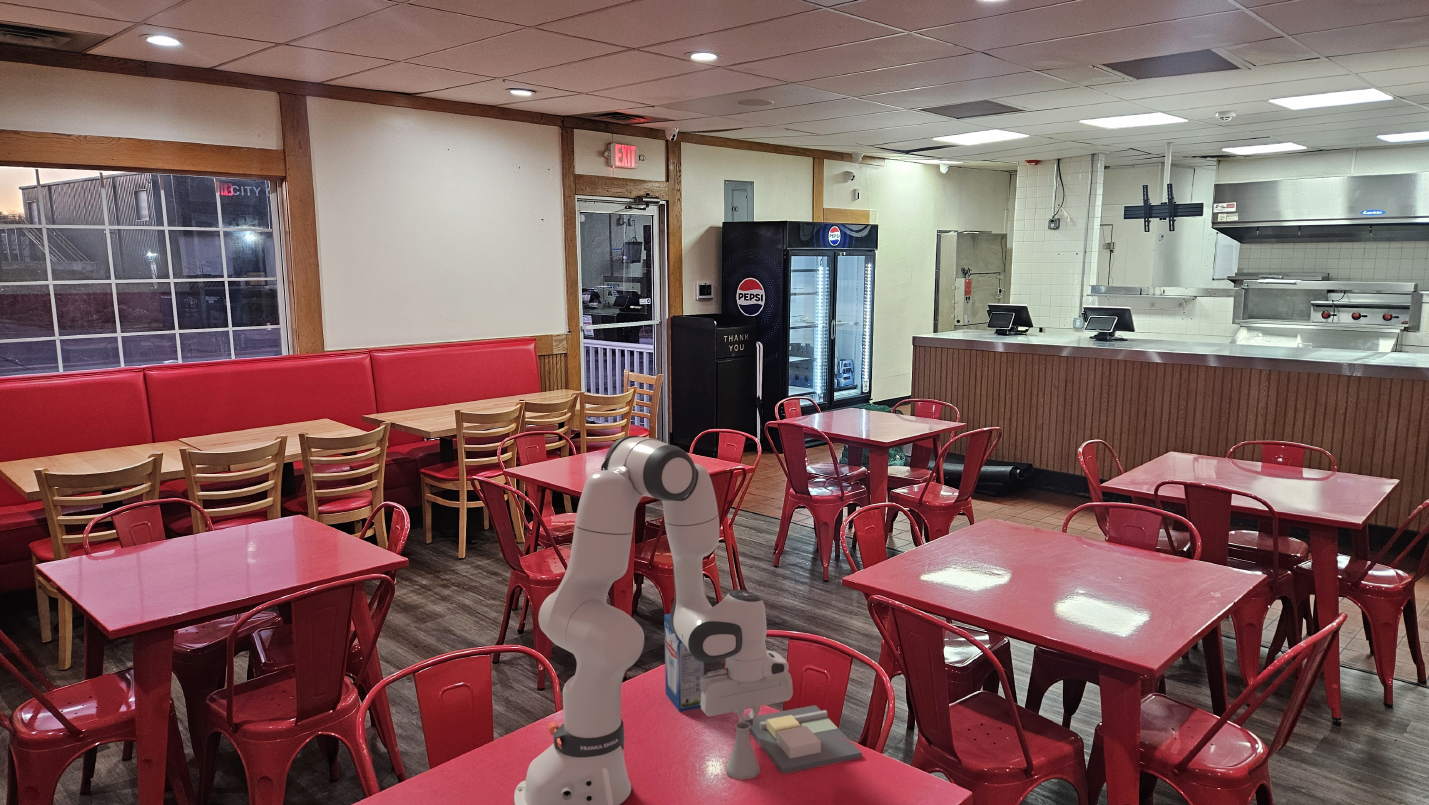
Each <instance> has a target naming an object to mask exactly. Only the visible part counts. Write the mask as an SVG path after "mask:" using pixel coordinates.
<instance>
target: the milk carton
mask: <svg viewBox="0 0 1429 805" xmlns="http://www.w3.org/2000/svg"><path fill="white" fill-rule="evenodd" d="M663 616H664V617H663V618H664V619H663V620H664V668H665V670H664V671H665V672H664V673H665V674H664V675H665V680H664V681H665V684H664V685H665V695H666V696H667V698H668V700H670V702H671V703H672V704H673V706H674V707H675V708H676V710H677V711H678V712H679V713H682V712H687V711H692V710H698V709H701V692H702V691H701V683H700V681H701V678H702V677H703V676H704V675H705V662H701V661H699V660H697V659H695V658H694V657H693V656H692V654H691V653H690V652H689V651H688V649H687V648H686V647H685V645H684V644H683V643H682V641H681V640H680V639H679V638H678V637H677V636H676V635H675V634H674V633H673V631H672V629H671V626H670V613H667V614H664V615H663Z"/></svg>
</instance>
